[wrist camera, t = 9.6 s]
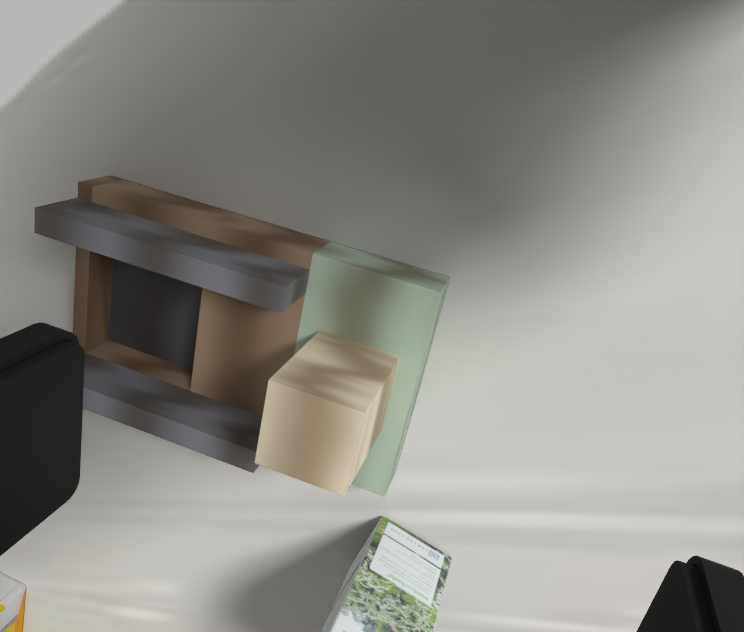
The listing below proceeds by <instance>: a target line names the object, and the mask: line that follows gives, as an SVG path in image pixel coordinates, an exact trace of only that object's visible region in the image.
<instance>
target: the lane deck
mask: <svg viewBox="0 0 744 632" xmlns="http://www.w3.org/2000/svg"><path fill="white" fill-rule="evenodd" d="M35 233H37V234H40V235H43V236H46V237H49V238H52V239H55V240H58V241H61V242H64V243H68V244H71V245H74V246H76V267H75V296H74V325H73V334H74V335H76V336H77V338H78V340H79V345H80V346H82V347H83V349H84V352H85V365H84V388H83V408H84V409H87V410H89V411H92V412H94V413H97V414H100V415H102V416H105V417H108V418H110V419H113V420H115V421H118V422H121V423H123V424H126V425H129V426H131V427H134V428H136V429H139V430H142V431H144V432H147V433H150V434H152V435H155V436H158V437H160V438H163V439H165V440H168V441H171V442H173V443H176V444H179V445H181V446H184V447H186V448H189V449H192V450H194V451H197V452H200V453H202V454H205V455H207V456H210V457H213V458H215V459H218V460H221V461H223V462H226V463H228V464H231V465H234V466H236V467H239V468H242V469H244V470H247V471H249V472H252V473H253V472H254V471H255V470H256V469H257V468H258V466H259V464H256V463H255V457H256V451H257V446H258V440H259V434H260V428H261V422H262V416H263V410H264V404H265V398H266V392H267V387H268V381H269V379H270V378H271V377H272V376H273V375H274V374H275V373H276V372H277V371H278V370H279V369H280V368H281V367H282V366H283V365H284V364H286V363H287V362H288V361H289V360H290V359H291V358H292V357H293V356H294V355H295V354H296V353H297V352H298V351H299V350H300V349H301V348H302V347H303V346H304V345H305V344H306V343H307V342H308V341H309V340H310V339H311V338H312V337H314V336H315V335H316V334H317V333H318V332H319V331H322V332H326V333H329V334H332V335H335V336H338V337H341V338H344V339H347V340H350V341H353V342H356V343H359V344H362V345H365V346H368V347H372V348H375V349H378V350H381V351H384V352H387V353H390V354H393V355H396V356H399V357H400V360H399V364H398V368H397V372H396V376H395V379H394V383H393V387H392V391H391V395H390V399H389V403H388V407H387V411H386V414H385V418H384V422H383V426H382V430H381V432H380V433H379V435H378V437H377V439H376V441H375V442H374V444H373V446H372V448H371V450H370V451H369V453H368V455H367V457H366V458H365V460H364V462H363V464H362V466H361V467H360V469H359V471H358V473H357V475H356V476H355V478H354V480H353V482H352V485H354V486H357V487H360V488H362V489H365V490H368V491H370V492H373V493H376V494H379V495H381V496H385V494H386V492H387V490H388V487H389V485H390V483H391V481H392V479H393V477H394V474H395V472H396V469H397V466H398V462H399V459H400V455H401V452H402V448H403V444H404V441H405V437H406V434H407V430H408V426H409V423H410V419H411V416H412V412H413V408H414V405H415V401H416V398H417V394H418V390H419V387H420V383H421V380H422V376H423V372H424V369H425V365H426V362H427V358H428V354H429V351H430V347H431V344H432V340H433V336H434V333H435V329H436V326H437V322H438V318H439V315H440V311H441V308H442V304H443V300H444V297H445V293H446V290H447V286H448V282H449V279H450V277H447V276H444V275H440V274H437V273H434V272H430V271H427V270H424V269H420V268H417V267H414V266H410V265H407V264H404V263H400V262H397V261H394V260H390V259H387V258H384V257H380V256H377V255H374V254H370V253H367V252H364V251H360V250H357V249H354V248H350V247H347V246H344V245H340V244H337V243H334V242H330V241H327V240H324V239H320V238H317V237H314V236H310V235H307V234H304V233H300V232H297V231H294V230H290V229H287V228H284V227H280V226H277V225H273V224H270V223H267V222H263V221H260V220H257V219H253V218H250V217H247V216H243V215H240V214H237V213H233V212H230V211H227V210H223V209H220V208H217V207H213V206H210V205H207V204H203V203H200V202H197V201H193V200H190V199H187V198H183V197H180V196H177V195H173V194H170V193H167V192H163V191H160V190H157V189H153V188H150V187H147V186H143V185H140V184H137V183H133V182H130V181H127V180H123V179H120V178H117V177H113V176H106V177H101V178H96V179H91V180H86V181H80V182H78V198H75V199H71V200H66V201H62V202H57V203H53V204H48V205H44V206H40V207H35Z"/></svg>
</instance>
